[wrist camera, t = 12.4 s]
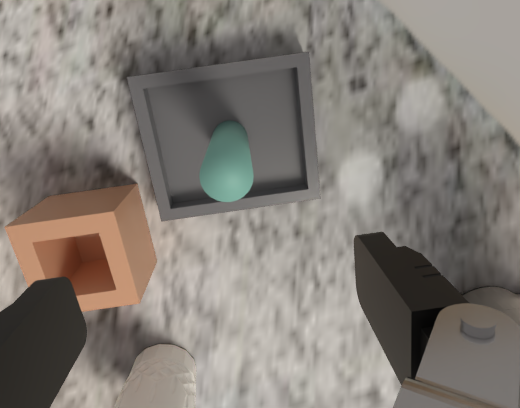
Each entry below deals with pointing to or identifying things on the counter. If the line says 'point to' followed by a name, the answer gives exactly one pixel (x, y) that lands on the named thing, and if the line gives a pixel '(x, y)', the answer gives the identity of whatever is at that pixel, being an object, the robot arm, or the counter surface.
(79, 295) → the pot
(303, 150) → the tray
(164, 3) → the counter surface
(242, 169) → the dowel
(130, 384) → the white cup
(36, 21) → the counter surface
